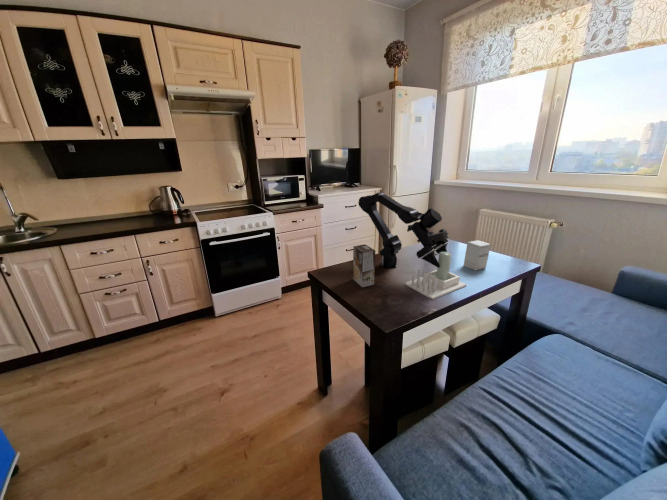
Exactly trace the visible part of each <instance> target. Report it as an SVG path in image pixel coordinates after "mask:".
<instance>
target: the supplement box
mask: <svg viewBox="0 0 667 500" xmlns="http://www.w3.org/2000/svg"><path fill="white" fill-rule="evenodd" d="M490 248H491V243H488V242H486V241H482V240H478V239H477V240H471V241H468V242H467V243H466V250H465V255H464V259H463V261H464V262H463V266H464V267H467V268H469V269H471V270H473V271H478V270H483V269H486V268H487V263H488V260H489V253H490Z"/></svg>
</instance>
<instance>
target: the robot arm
mask: <svg viewBox="0 0 667 500" xmlns="http://www.w3.org/2000/svg"><path fill="white" fill-rule="evenodd" d="M377 203H380V205H383V206H384V207H386V208H387V209H389V210H390V211H392V212H393V213H395V214H396V215H397V217H398V218H399V219H400V221H402V223H404V224H406V225H407V231H406V232H411V231H412V232H413V233H414V235H415V236H416V238H417V240H416V241H417V243H420V244H421V246H422V248H421V249H419V250H417V251H416V257H417V258H418V259H421V260H423V261H425V262H428V263H429V264H431V265H432V266H434V267H436V268H437V267H438V268H439V267H440V264H439V262H438V259H437V257H436V255H435V254H434V251H436V252H437V253H438V254H437V255H439V253H440V252H448V250H447V247H448V245H449V244H448V242H449V240H448V239H449V236H448V235H449V232H448V231H447V230H446V229H445V228H441V229H439V230H438V232H436V233H434V232H433V231H432V230H431V231H430V230H429V229H432V228H433V227H434V226H436V225H437V224H439V223H440V222H442V221H443V220H442V219H443V217H442V215H441V214H440V212H438V211H437V210H435V209H433V208H432V207H431V208H428V209H427V210H426V211H425V212H424V213H422V212H419V210H417V209H415V208H413V207H411V206H406V205H403V204H402V203H400V202H399V201H397V200H396V199H393V198H392V197H390V196H388V195H387V194H386V193H385V192H382V191H380V192H379V191H378V192H376V193H373V194H372V195H370V194H369V195H365V196H361V197H359V198H358V203H357V204H358V206H359V208H360V209H361V210H362V211H363V212H364V213H366V214H367V215H368V217H369V218H370V219H371V222H372V223H373V225H374V227H375V228H376V230H377V233H378V234H379V235H380V237H381V239H382V246H383V248H382V249H380V251H379V255H380V256H381V258H382V259H381V262H380V264H381V266H382V267H383V269H396V268H397V264H398V263H397V262H398V257H397V254H398V253H399V251H400V250H401V249H402V246H403V244H402V240H401V239H400V237H399V236H398V234H396V235H394V234H393V233H392V232H391V230H390V229H389V227H388V226H387V224H386V222H385V220H384V219H383V217H382V215H381V214H380V212H379V211H378V204H377ZM408 224H409V225H408ZM433 249H437V250H434V251H432V250H433Z"/></svg>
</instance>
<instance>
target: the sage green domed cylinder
mask: <svg viewBox="0 0 667 500" xmlns="http://www.w3.org/2000/svg"><path fill="white" fill-rule="evenodd" d="M452 256H453V255H452V253H451V252H449V251H447V252H440V253H439V254H438V259H437V261H438V262H439V264H440V267H439V268H438V267H436V268H437V269H436V270H437V275H436V277H437V278H439V279H441V280H443V281H445V280H448V275H449V272H450V267H451V261H452Z"/></svg>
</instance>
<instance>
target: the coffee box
mask: <svg viewBox="0 0 667 500" xmlns="http://www.w3.org/2000/svg"><path fill="white" fill-rule="evenodd" d="M352 248H353V249H352V257H353V258H352V259H353V260H352V263H353V264H352V279H353V281H354V282H355V283H356V284H358V285H359V287H361V288H365V287H370V286H374V285H375V273H376V272H375V269H376V268H375V266H376V250H375V249H374V248H372V247H370V246H369V245H367V244H365V243H364V244H357V245H354V246H353V247H352Z"/></svg>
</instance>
